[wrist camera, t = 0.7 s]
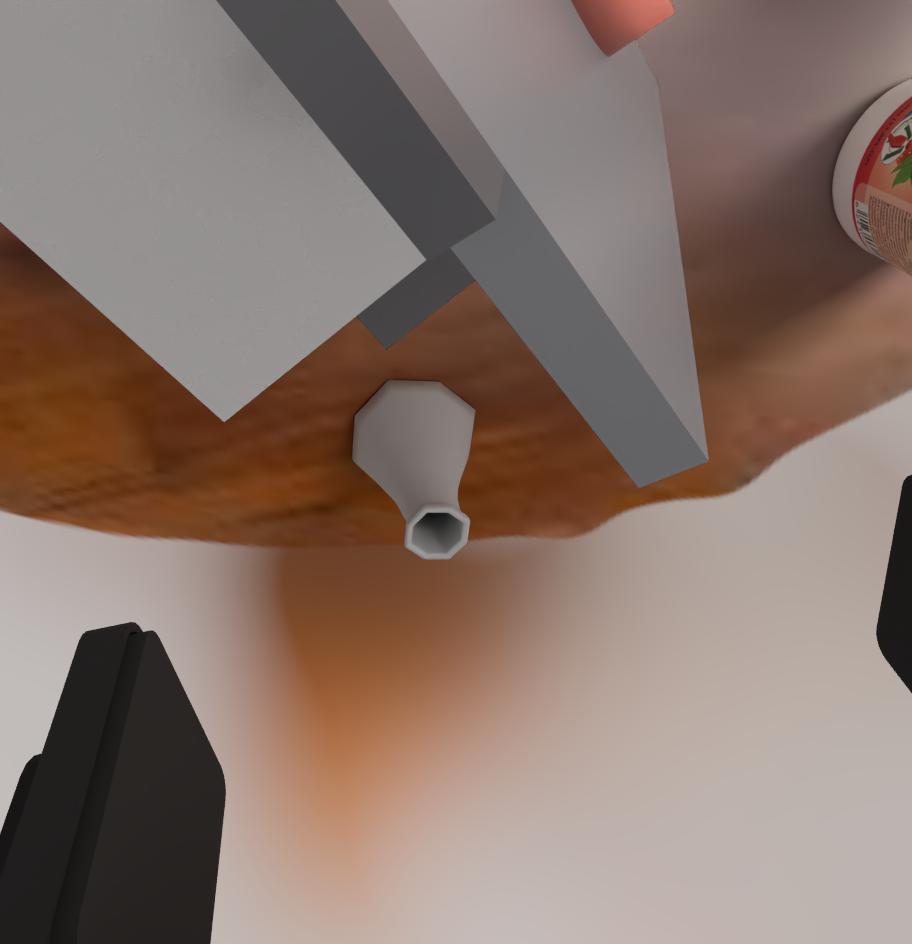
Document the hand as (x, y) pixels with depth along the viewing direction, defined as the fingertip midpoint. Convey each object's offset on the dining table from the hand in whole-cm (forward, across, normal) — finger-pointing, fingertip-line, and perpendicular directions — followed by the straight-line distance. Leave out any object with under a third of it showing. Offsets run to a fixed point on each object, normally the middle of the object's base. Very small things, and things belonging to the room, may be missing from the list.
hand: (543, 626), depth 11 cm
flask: (+35, +2, +17) cm, 39 cm away
